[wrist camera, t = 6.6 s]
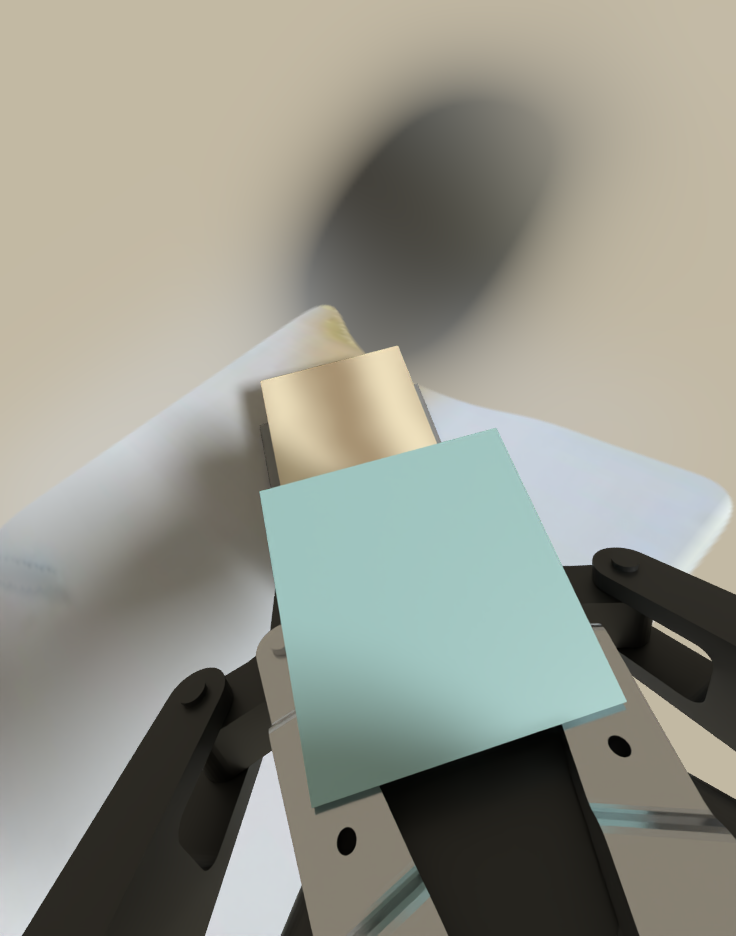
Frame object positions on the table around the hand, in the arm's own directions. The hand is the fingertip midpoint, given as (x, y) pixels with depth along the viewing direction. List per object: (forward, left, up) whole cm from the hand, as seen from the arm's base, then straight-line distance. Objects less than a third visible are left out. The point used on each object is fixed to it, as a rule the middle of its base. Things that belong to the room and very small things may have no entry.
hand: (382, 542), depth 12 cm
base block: (0, +8, -9) cm, 12 cm away
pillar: (0, -2, -5) cm, 6 cm away
